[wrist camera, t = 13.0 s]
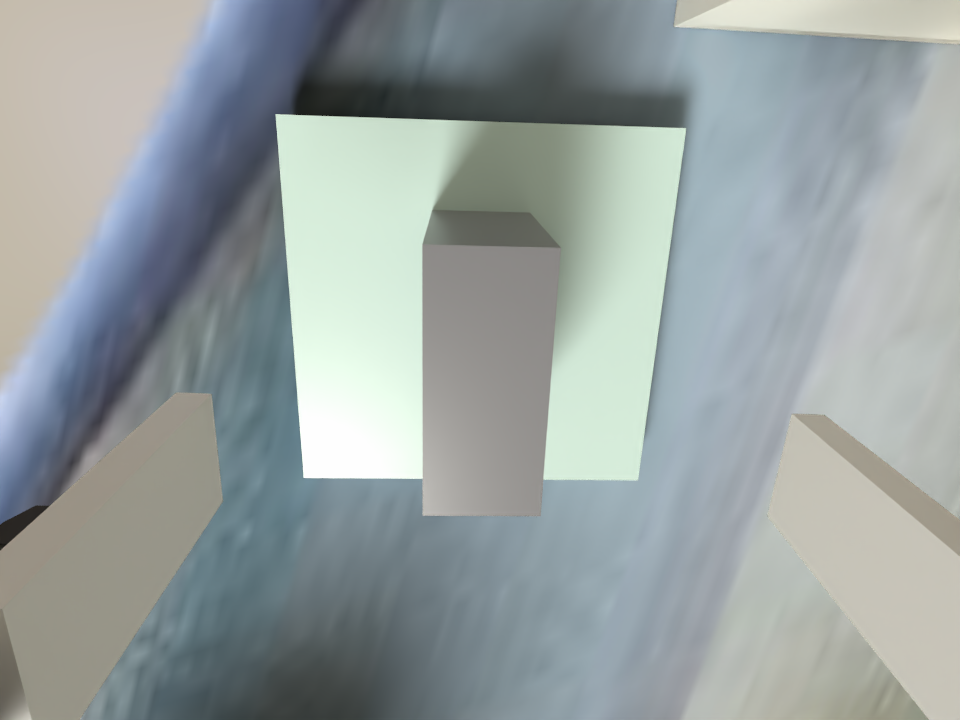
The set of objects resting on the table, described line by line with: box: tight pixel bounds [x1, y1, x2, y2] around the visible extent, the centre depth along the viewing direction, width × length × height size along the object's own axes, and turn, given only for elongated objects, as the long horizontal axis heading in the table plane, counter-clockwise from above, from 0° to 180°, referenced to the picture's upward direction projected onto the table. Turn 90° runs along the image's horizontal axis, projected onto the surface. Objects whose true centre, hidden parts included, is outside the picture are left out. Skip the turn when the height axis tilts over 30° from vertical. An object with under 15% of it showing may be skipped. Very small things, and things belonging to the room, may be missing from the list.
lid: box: [276, 114, 686, 516], centre depth 21 cm, size 14×14×9 cm
